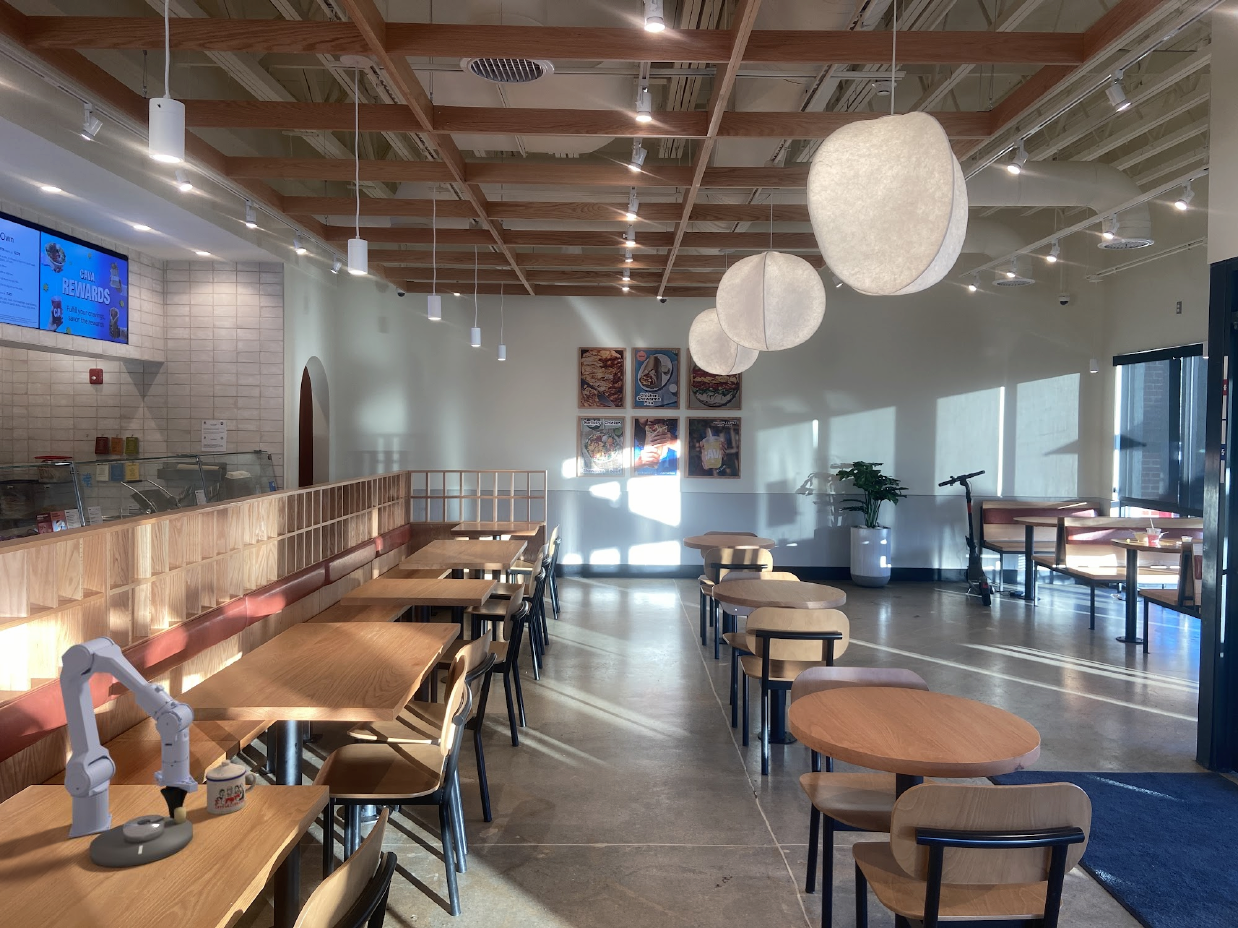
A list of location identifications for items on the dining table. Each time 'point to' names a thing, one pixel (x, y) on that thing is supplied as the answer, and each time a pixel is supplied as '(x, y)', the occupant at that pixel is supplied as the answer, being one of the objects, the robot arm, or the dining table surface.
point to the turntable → (119, 854)
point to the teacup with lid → (227, 788)
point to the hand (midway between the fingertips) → (175, 816)
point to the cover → (143, 829)
